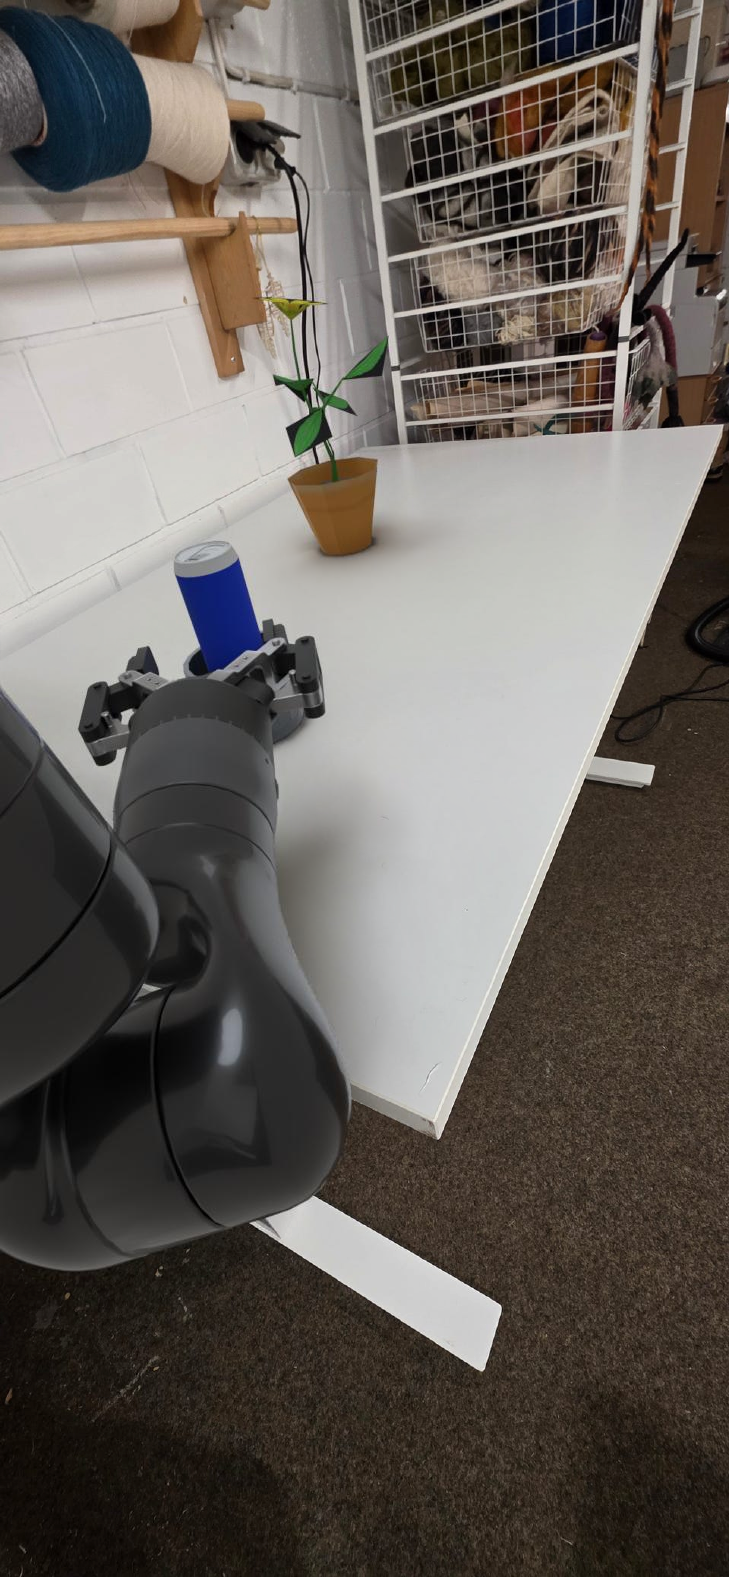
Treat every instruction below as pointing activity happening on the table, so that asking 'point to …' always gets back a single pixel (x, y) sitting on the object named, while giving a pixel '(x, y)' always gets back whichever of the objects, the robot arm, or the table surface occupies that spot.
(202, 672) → the grey pen holder cup
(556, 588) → the table surface
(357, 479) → the potted plant
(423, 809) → the table surface
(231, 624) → the beverage can
